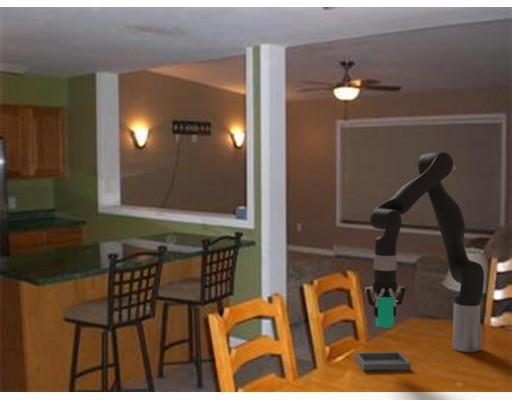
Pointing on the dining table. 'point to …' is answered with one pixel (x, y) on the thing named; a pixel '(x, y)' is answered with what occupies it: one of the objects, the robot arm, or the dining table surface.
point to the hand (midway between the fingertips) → (384, 316)
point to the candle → (385, 312)
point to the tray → (382, 361)
